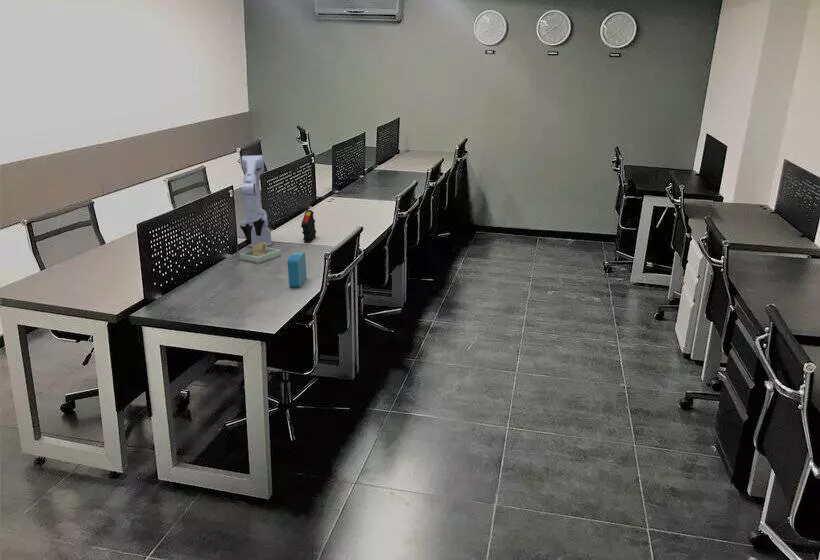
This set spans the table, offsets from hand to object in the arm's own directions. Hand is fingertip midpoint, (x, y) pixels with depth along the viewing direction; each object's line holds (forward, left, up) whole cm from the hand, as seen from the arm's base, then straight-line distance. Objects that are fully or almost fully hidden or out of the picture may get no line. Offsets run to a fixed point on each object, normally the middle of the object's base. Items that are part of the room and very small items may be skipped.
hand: (253, 237), depth 308 cm
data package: (+16, +43, -10) cm, 46 cm away
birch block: (0, +3, -9) cm, 9 cm away
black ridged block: (-34, +3, -10) cm, 35 cm away
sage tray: (0, +4, -9) cm, 10 cm away
